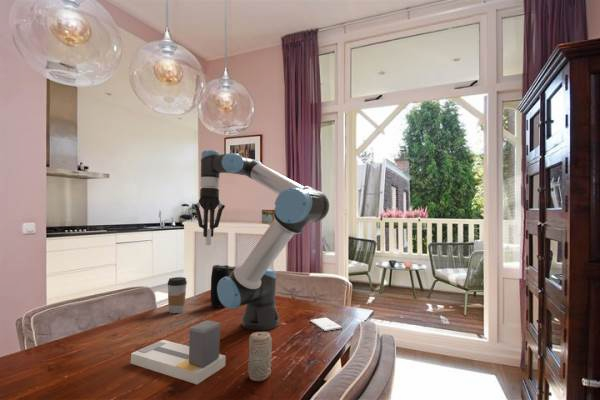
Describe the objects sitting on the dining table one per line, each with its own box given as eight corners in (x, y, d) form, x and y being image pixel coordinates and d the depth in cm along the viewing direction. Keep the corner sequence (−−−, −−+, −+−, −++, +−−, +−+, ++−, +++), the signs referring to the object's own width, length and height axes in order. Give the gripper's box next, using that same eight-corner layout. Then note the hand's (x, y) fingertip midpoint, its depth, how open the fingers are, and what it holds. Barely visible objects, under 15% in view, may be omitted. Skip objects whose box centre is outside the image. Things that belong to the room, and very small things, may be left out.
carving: (244, 382, 89) (245, 338, 89) (253, 369, 96) (254, 328, 97) (266, 385, 88) (267, 340, 88) (273, 372, 95) (274, 330, 96)
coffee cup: (179, 315, 144) (180, 281, 145) (162, 313, 146) (163, 280, 147) (189, 309, 153) (190, 277, 153) (173, 308, 154) (174, 276, 155)
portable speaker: (230, 304, 164) (231, 264, 164) (225, 309, 154) (226, 267, 155) (213, 303, 164) (215, 264, 165) (207, 308, 155) (209, 267, 156)
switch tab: (188, 363, 92) (189, 327, 93) (205, 353, 99) (206, 320, 99) (202, 367, 90) (203, 330, 90) (219, 357, 97) (220, 322, 97)
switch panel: (130, 363, 99) (131, 352, 99) (162, 348, 110) (163, 339, 110) (196, 384, 88) (197, 372, 88) (225, 365, 98) (225, 355, 99)
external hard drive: (326, 321, 143) (342, 330, 132) (310, 323, 139) (325, 333, 128) (326, 317, 143) (342, 326, 132) (310, 319, 139) (325, 329, 128)
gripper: (222, 189, 143) (221, 243, 142) (191, 187, 136) (189, 244, 135) (227, 188, 136) (226, 245, 135) (195, 186, 130) (193, 246, 129)
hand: (208, 244), depth 135 cm, fingers closed
